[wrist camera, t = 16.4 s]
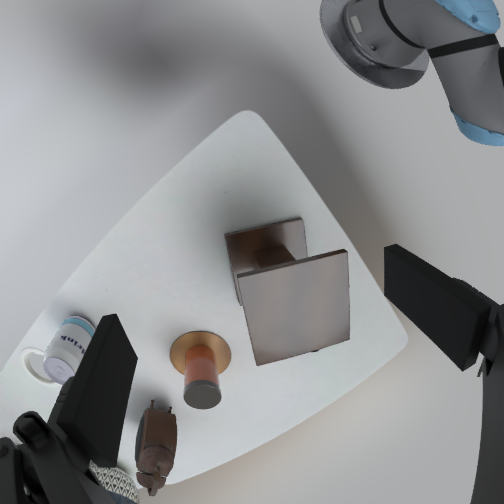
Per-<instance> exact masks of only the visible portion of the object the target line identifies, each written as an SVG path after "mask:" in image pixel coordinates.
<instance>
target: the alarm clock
mask: <svg viewBox="0 0 504 504" xmlns="http://www.w3.org/2000/svg"><path fill="white" fill-rule="evenodd" d="M171 409H172V407H169V411H168V412H165V411H162V410H156V409H154V400H151V405H150V408H149V409H148V408H147V410H146V411H144V414H143V417H142V418H141V420H140V424H139V428H138V432H137V437H136V446H135V461H136V467H137V468H138V471H140V472H137V473H136V476H137V481H138V483H139V484H140V485H142V486H143V487H146V488H148V493H149V496H155V495H156V493H157V490H158V489H160V488H162V487H163V486H164V484H165V482H166V478H165V477H167V476H168V475H169V472H170V471H171V469H172V468H173V464H174V458H175V452H176V445H177V424H176V416H175V414H171ZM141 472H143V473H141ZM146 473H147V474H146ZM161 476H165V477H161Z"/></svg>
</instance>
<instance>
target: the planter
mask: <svg viewBox="0 0 504 504" xmlns="http://www.w3.org/2000/svg"><path fill="white" fill-rule="evenodd" d="M89 468H90V469H91V470H92V471H93V472H94V473H95V475H96V476H97V478H98V479H99V481H100V482H101V484H102V485H103V487H104V488H105V489H106V491H107V492H108V494H109V495H110V496H111V498H112V499H113V500H114V502H115V503H116V504H139V495H138V490H137V487H136V485H135V483H134V481H133V480H132V479H131V478H130V476H129V475H128V474H127V473H125V472H124V471H123V470H121V469H120V468H118V467H116V468H101V467H98V466H97V465H96V464H93V465H90V466H89Z"/></svg>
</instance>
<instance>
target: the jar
mask: <svg viewBox="0 0 504 504" xmlns="http://www.w3.org/2000/svg"><path fill="white" fill-rule="evenodd" d="M184 400H185V402H186V403H187V404H188V405H189V406H191V407H193V408H196V409H210V408H213V407H215V406H216V405H218V404H219V402H220V401H221V390H220V386H219V378H218V369H217V360H216V354H215V352H214V351H213V350H212V349H211V348H209V347H207V346H202V345H198V346H194V347H191V348H190V349H189V350H188V351H187V352H186V354H185V376H184Z"/></svg>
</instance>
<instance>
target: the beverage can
mask: <svg viewBox="0 0 504 504" xmlns="http://www.w3.org/2000/svg"><path fill="white" fill-rule="evenodd" d="M94 333H95V329H94V327H93V326H92V324H91V323H90V322H88V321H87V320H86V319H84V318H82V317H79V316H70V317H68V318H66V319H65V321H64V322H63V324H62V325H61V327H60V328H59V330H58V331H57V333H56V335H55V336H54V338H53V339H52V341H51V343H50V344H49V346H48V347H47V349H46V351H45V353H44V370H45V372H46V373H47V375H48V376H49V377H50V378H51V379H52V380H53V381H55V382H57V383H59V384H61V385H63V384H64V383H65V382H66V381H67V380H68V379H69V377H71V376H75V373H76V371H77V369H78V367H79V364H80V362H81V360H82V358H83V356H84V353H85V351H86V349H87V347H88V345H89V343H90V341H91V339H92V337H93V335H94Z"/></svg>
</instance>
